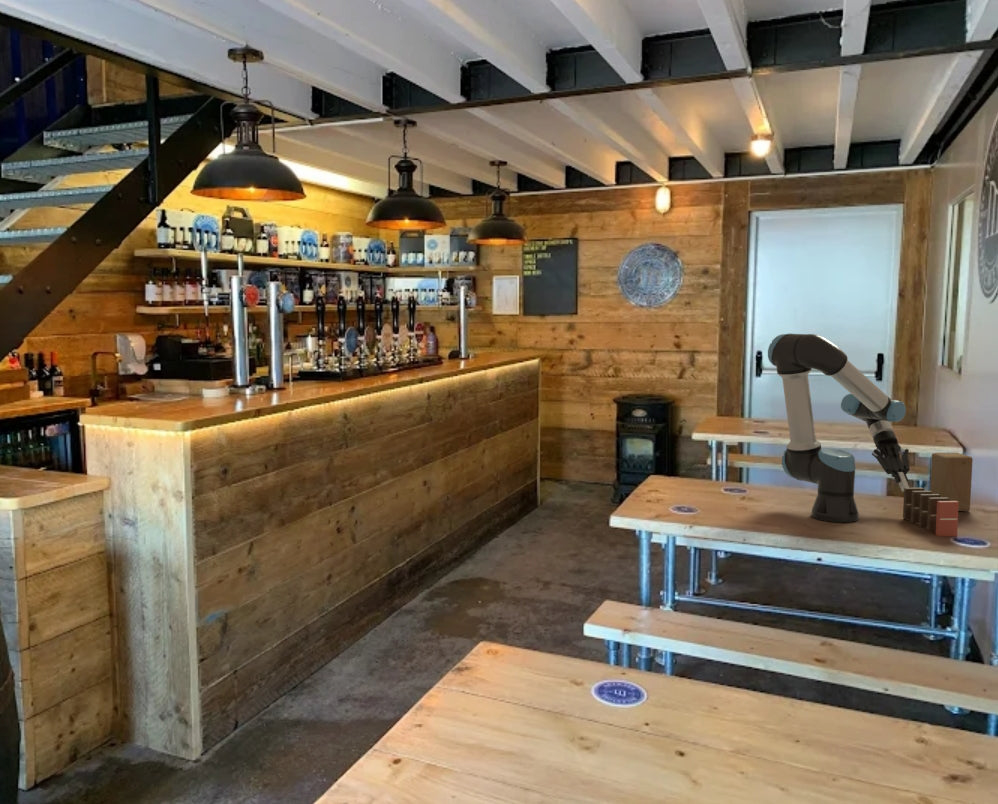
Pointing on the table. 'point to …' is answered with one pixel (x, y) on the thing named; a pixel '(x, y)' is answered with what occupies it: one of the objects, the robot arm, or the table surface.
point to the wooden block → (952, 477)
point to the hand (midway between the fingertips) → (905, 489)
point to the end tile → (947, 518)
